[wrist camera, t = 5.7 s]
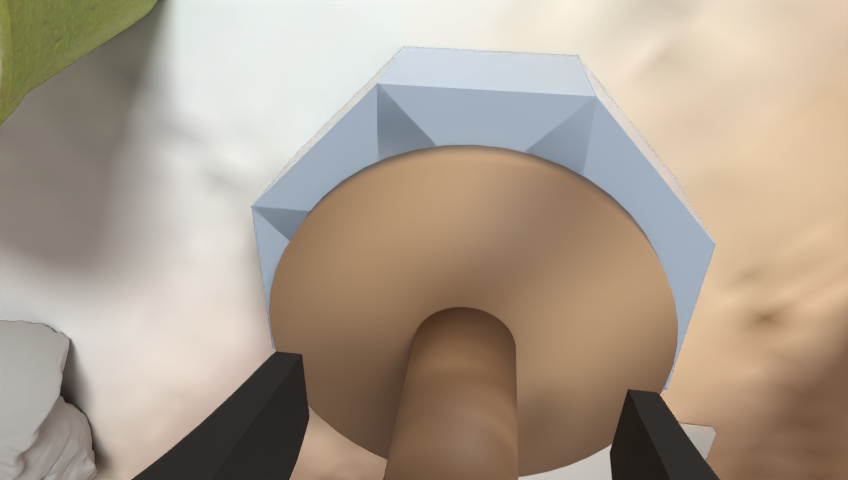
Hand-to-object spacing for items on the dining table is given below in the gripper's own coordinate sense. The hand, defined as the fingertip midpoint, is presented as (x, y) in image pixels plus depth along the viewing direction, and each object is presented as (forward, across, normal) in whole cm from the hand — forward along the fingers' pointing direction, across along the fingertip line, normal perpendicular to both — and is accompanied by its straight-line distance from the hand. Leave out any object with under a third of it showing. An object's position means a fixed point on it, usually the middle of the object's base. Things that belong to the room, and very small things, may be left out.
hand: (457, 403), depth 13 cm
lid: (+4, 0, +1) cm, 4 cm away
